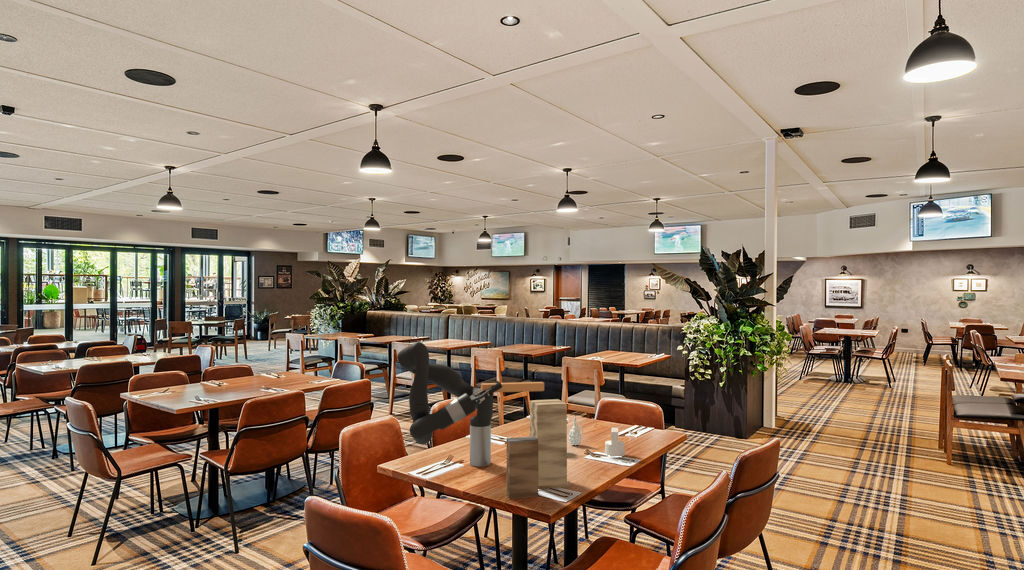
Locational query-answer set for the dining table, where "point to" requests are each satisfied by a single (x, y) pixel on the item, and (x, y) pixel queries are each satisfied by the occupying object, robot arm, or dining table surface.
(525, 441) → the block
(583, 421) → the dining table surface
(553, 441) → the stand
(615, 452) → the cylinder with rectangular tab
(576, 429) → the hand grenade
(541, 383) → the bar
